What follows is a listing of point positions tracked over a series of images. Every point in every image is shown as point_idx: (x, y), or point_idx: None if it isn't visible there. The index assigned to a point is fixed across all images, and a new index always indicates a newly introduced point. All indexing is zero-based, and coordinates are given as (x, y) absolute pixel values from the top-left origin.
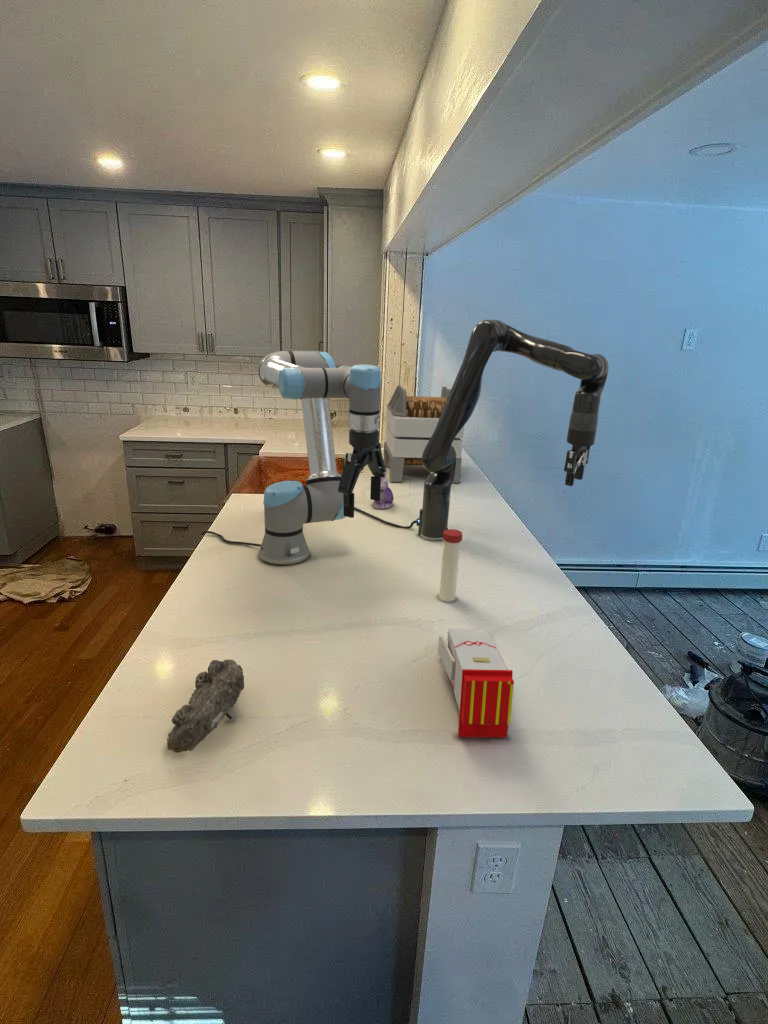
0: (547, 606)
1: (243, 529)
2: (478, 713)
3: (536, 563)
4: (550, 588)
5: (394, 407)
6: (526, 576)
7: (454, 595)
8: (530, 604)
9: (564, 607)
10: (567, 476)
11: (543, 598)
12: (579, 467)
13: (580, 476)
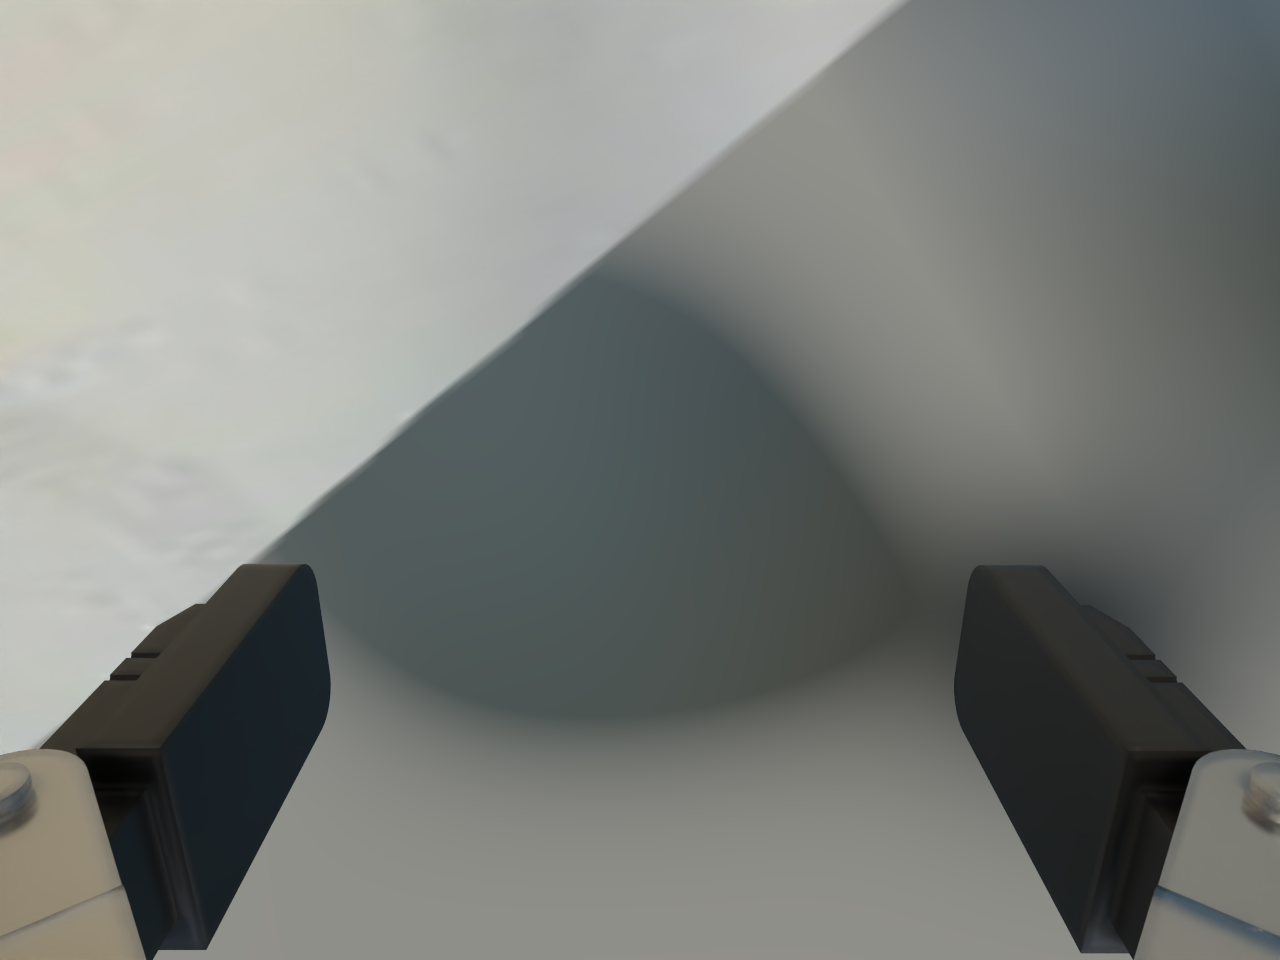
0: (117, 381)
1: None
2: None
3: (695, 60)
4: (360, 310)
5: None
6: (411, 92)
7: None
8: (51, 288)
9: (190, 463)
10: (67, 740)
11: (192, 324)
12: (1105, 840)
13: (985, 722)
